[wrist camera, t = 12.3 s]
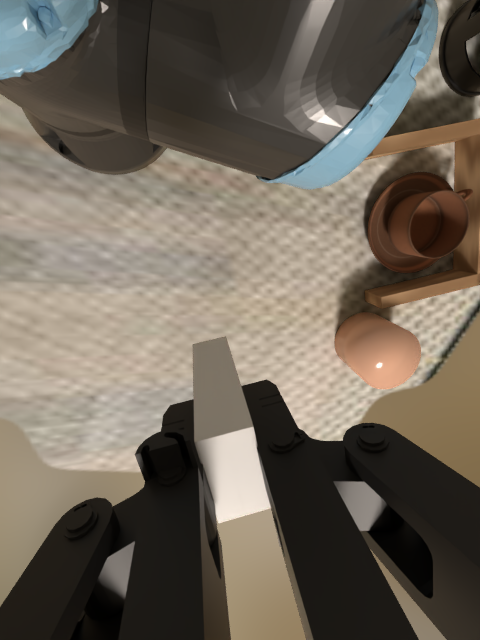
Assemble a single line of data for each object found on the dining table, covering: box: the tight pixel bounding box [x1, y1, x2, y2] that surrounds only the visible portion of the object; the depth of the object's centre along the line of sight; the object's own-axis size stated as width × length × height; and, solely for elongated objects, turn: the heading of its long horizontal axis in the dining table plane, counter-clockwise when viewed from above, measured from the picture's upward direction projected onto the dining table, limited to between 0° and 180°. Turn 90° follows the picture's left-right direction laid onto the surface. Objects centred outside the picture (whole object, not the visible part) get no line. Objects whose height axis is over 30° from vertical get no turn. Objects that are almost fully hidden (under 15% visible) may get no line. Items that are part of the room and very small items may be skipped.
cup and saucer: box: [368, 172, 473, 273], centre depth 39 cm, size 12×12×6 cm
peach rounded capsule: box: [335, 312, 421, 389], centre depth 42 cm, size 8×8×7 cm
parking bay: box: [364, 118, 480, 309], centre depth 39 cm, size 19×14×4 cm
